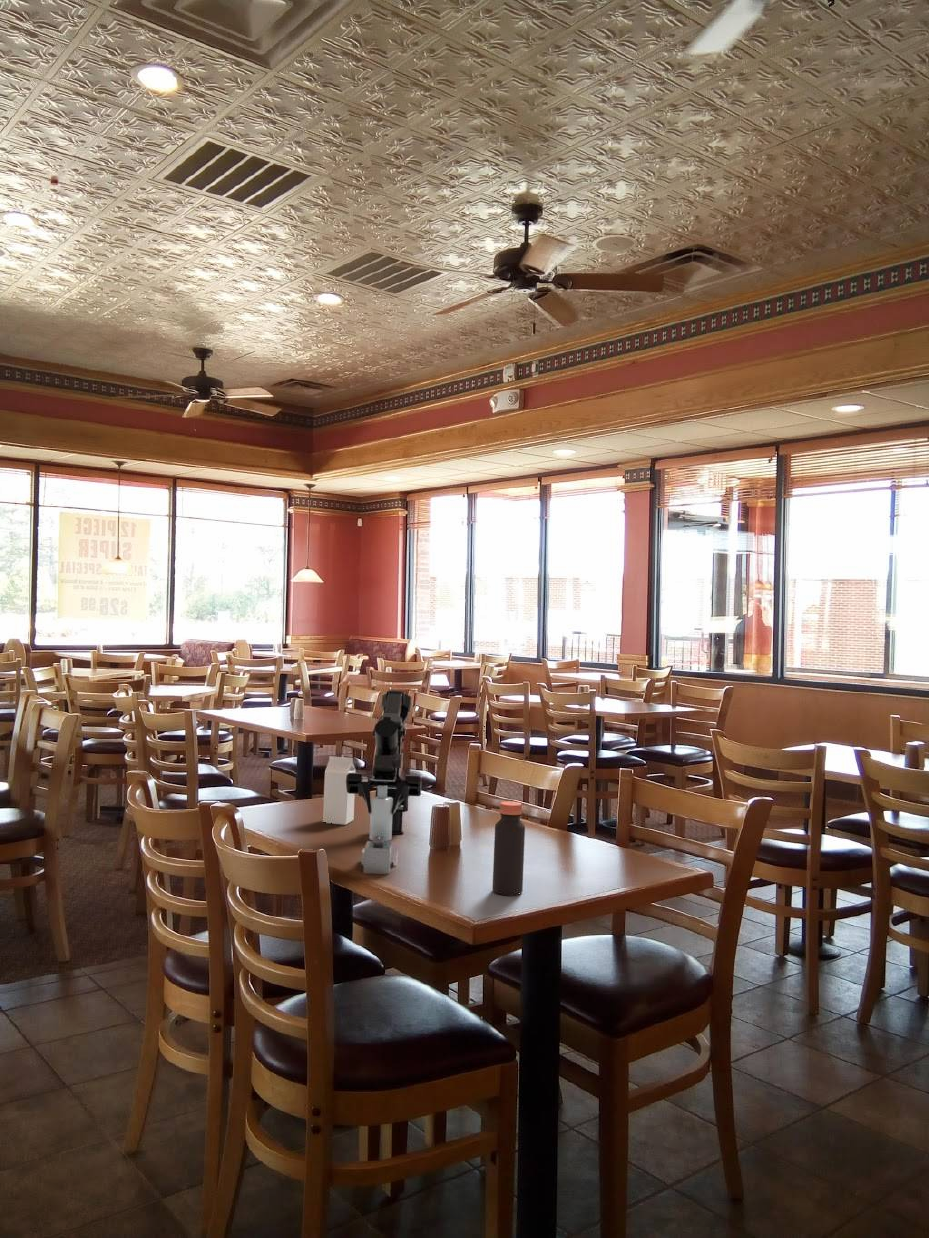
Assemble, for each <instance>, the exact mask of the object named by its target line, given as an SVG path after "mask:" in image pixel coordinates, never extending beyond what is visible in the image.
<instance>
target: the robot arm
mask: <svg viewBox="0 0 929 1238" xmlns="http://www.w3.org/2000/svg"><path fill="white" fill-rule="evenodd" d="M412 702H413V701H412V696H411V695H408V694H407V693H405V691H403V690H400V689H399V690H397V689H396V690H395V689H389V690H387V691H386V692H385V693H384V694H382V695H381V711H382V712H383V715H381V716H379V717H378V720H377V723H375V724H374V727H373V729H372V730H373V731H372V735H373V737H374V738H375V746H376V751H375V755H374V759H373V766H372V778H370V777H369V776H363V775H364V774H363V773H362V772H356V773H348V774H347V776H346V787H347V792H348V793H349V794H355V795H358V797H362V799H363V800H364V803H365V805H366V808H367V812H368V814H371V788H373V789H375V788H376V789H375V796H377V792H378V785H386V786H387V796H388V797H392V798H393V807H392V835H404V831H403V814H404V813H406V812H409V797H420V796H421V795H422V777H421V776H420V775H417V774H405V778H404V779H405V780H403V779H402V778H401V776H400V771H401V768H402V763H403V762H402V760H403V754H402V743H403V742H402V739H405V736H406V735H407V729H406V727H405V724H406V723H407V722H408V720H409V718H410V716H409V715H410V713H411V712H412V704H413V703H412Z"/></svg>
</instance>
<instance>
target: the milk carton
mask: <svg viewBox="0 0 929 1238" xmlns="http://www.w3.org/2000/svg"><path fill="white" fill-rule="evenodd" d="M328 758H329V759H328V762H327V765H326V767H325V771H324V782H323V783H324V784H323V810H322V823H323V822H326V823H325V824H331V823H332V824H333V825H345V826H346V825H347V824H349V823H351V822H353V821H354V820H355V819H354V817H355V816H354V815H355V796H356V794H349V793H348V792H347V787H346V776H347V774H348V773H357V772H356V771H357V770H356V767H355V765H354V761H353V757H345V756H344V757H342V756H333V755H332V756H329V757H328Z"/></svg>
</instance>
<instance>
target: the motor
mask: <svg viewBox="0 0 929 1238" xmlns="http://www.w3.org/2000/svg"><path fill="white" fill-rule="evenodd" d="M392 846H393V842H392V841H383V837H382V836H375V837H373V840H367V841H366V843H365V845H364V848H362V851H361V856H360V857H361V861H360V865H361V866H363V874H374V875H376V874H377V875H378V874H379V875H389V874H390V870H391V867H392V866H393V867H397V865H398V855H399V854H398V853H399V851H398V850H399V849H394V850H393V856H392ZM392 857H393V861H392Z"/></svg>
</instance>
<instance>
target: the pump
mask: <svg viewBox="0 0 929 1238" xmlns="http://www.w3.org/2000/svg"><path fill="white" fill-rule="evenodd" d="M377 789H378V792H377V796H376V795H375V796H370V801H371V812H370V813H369V814H370V816H369V817H370V818H369V819H370V820H369V840H370V841H373V837H375V836H382V837H383V842H390V841H391V840H392V837H393V836H392V835H393V834H392V807H393V798H392V797H388V796H387V786H386V785H378V788H377Z"/></svg>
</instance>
